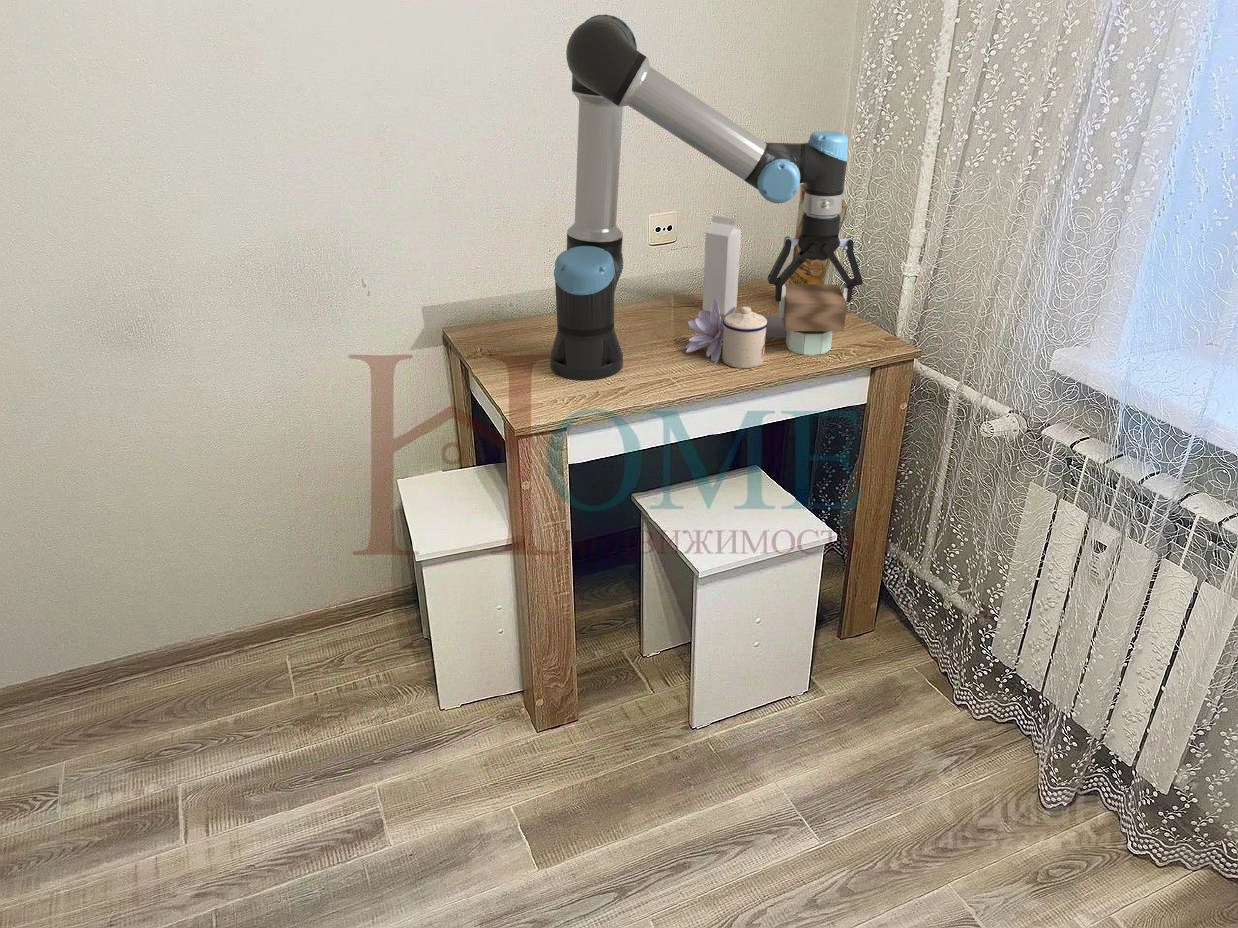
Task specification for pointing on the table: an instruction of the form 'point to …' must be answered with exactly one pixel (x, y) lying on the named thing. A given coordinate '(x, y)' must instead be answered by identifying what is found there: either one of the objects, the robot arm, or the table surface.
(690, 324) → the water lily
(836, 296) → the brown wooden block
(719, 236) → the milk
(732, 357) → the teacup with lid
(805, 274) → the pancake mix bag
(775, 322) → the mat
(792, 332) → the bowl
